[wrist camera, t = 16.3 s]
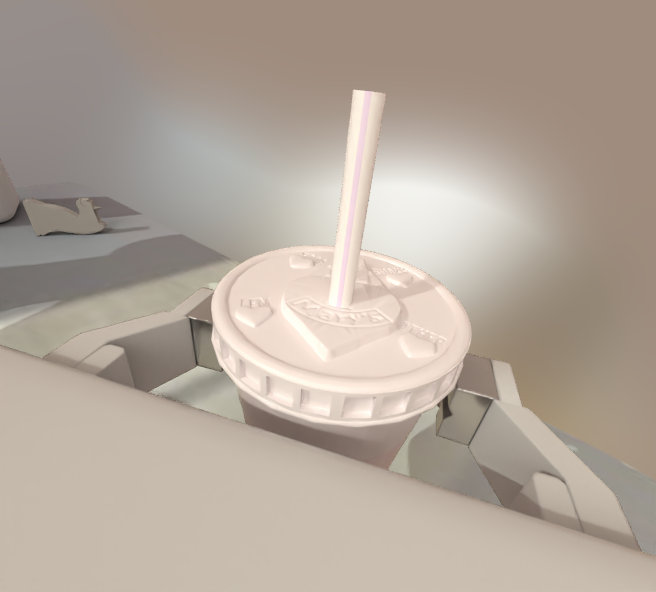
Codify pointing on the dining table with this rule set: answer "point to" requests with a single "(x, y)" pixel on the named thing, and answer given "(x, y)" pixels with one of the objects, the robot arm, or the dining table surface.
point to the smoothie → (340, 328)
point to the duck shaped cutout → (64, 217)
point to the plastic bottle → (7, 196)
